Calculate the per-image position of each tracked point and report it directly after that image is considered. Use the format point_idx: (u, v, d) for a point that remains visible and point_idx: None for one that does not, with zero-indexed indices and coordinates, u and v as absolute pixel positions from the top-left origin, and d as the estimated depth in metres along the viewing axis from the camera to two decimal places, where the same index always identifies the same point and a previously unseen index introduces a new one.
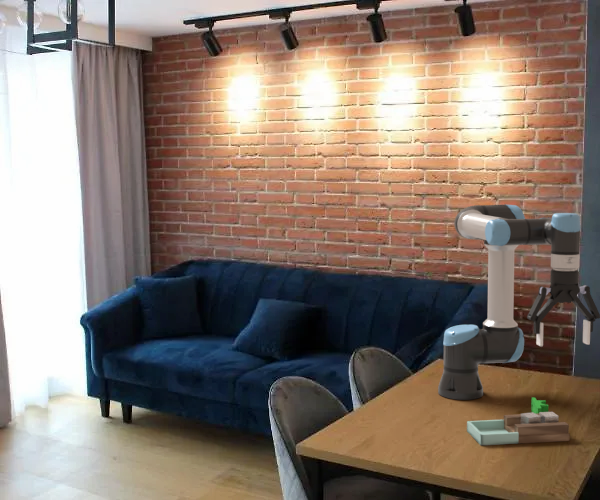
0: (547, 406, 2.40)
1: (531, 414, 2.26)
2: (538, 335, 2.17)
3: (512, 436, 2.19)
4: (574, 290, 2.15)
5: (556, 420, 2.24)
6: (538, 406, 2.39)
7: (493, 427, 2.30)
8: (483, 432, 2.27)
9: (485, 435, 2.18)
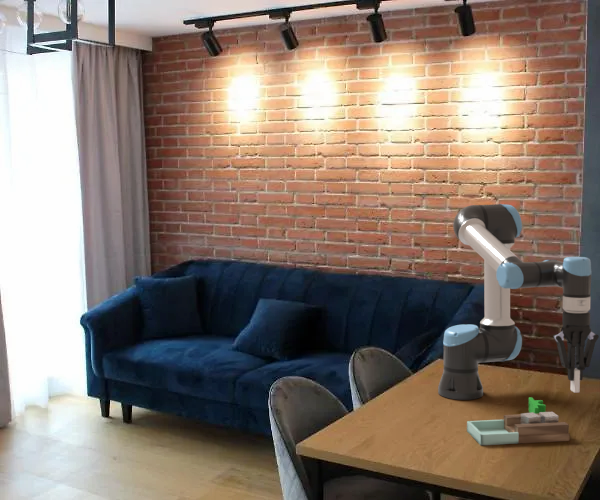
0: (544, 406, 2.40)
1: (531, 414, 2.26)
2: (572, 381, 2.25)
3: (512, 436, 2.19)
4: (586, 329, 2.23)
5: (556, 420, 2.24)
6: (535, 406, 2.39)
7: (493, 427, 2.30)
8: (483, 432, 2.27)
9: (485, 435, 2.18)
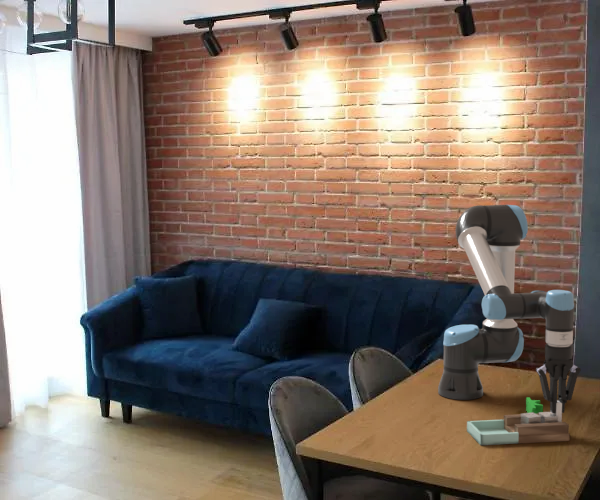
0: (541, 406, 2.40)
1: (531, 414, 2.26)
2: None
3: (512, 436, 2.19)
4: (568, 363, 2.24)
5: (556, 420, 2.24)
6: (532, 406, 2.39)
7: (493, 427, 2.30)
8: (483, 432, 2.27)
9: (485, 435, 2.18)
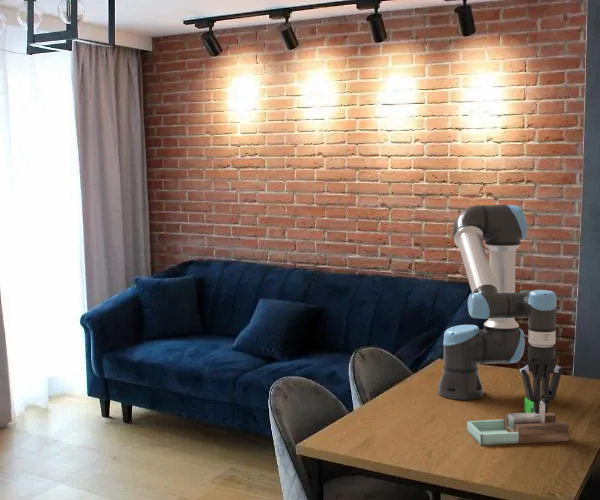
0: None
1: (518, 414, 2.26)
2: None
3: (512, 436, 2.19)
4: (551, 363, 2.23)
5: (538, 421, 2.24)
6: (531, 406, 2.39)
7: (493, 427, 2.30)
8: (483, 432, 2.27)
9: (485, 435, 2.18)
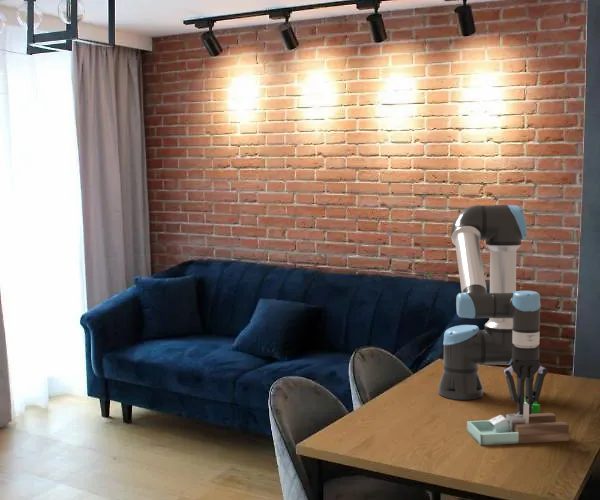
0: (538, 406, 2.40)
1: (498, 418, 2.25)
2: (522, 415, 2.25)
3: (512, 436, 2.19)
4: (535, 364, 2.23)
5: (523, 422, 2.23)
6: None
7: None
8: (483, 432, 2.27)
9: (485, 435, 2.18)
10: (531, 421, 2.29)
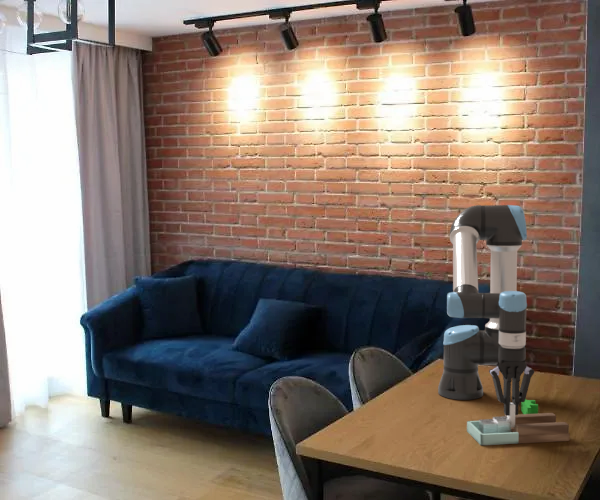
0: (537, 406, 2.40)
1: (489, 421, 2.25)
2: (508, 416, 2.25)
3: (512, 436, 2.19)
4: (521, 364, 2.22)
5: (509, 425, 2.23)
6: (528, 406, 2.39)
7: None
8: None
9: (485, 435, 2.18)
10: (531, 421, 2.29)
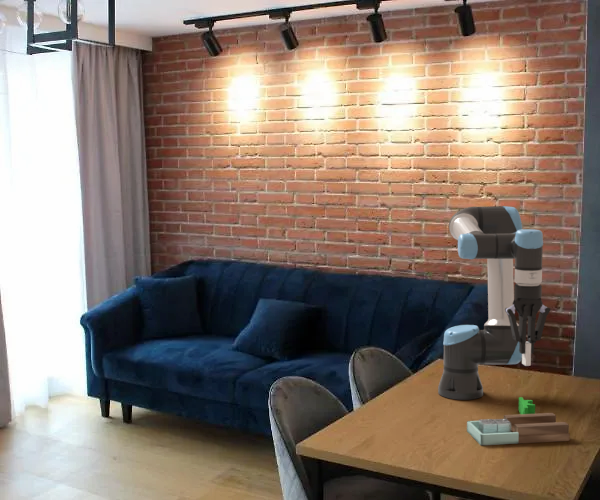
0: (534, 406, 2.40)
1: (489, 421, 2.25)
2: (523, 355, 2.25)
3: (512, 436, 2.19)
4: (537, 303, 2.22)
5: (509, 427, 2.23)
6: (525, 406, 2.39)
7: None
8: None
9: (485, 435, 2.18)
10: (531, 421, 2.29)
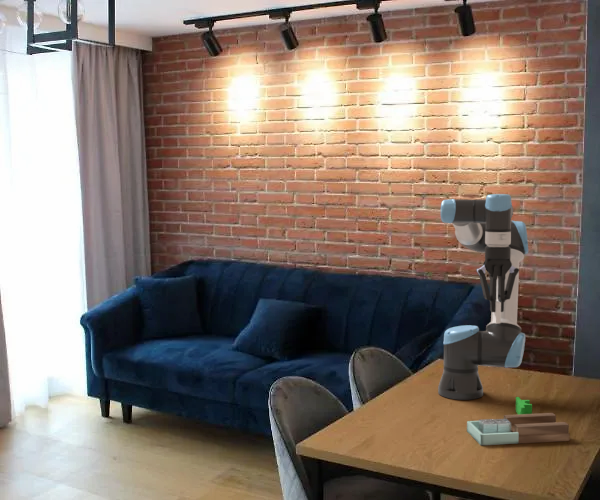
0: (531, 406, 2.40)
1: (489, 421, 2.25)
2: (494, 313, 2.37)
3: (512, 436, 2.19)
4: (506, 263, 2.34)
5: (509, 427, 2.23)
6: (522, 406, 2.39)
7: None
8: None
9: (485, 435, 2.18)
10: (531, 421, 2.29)
